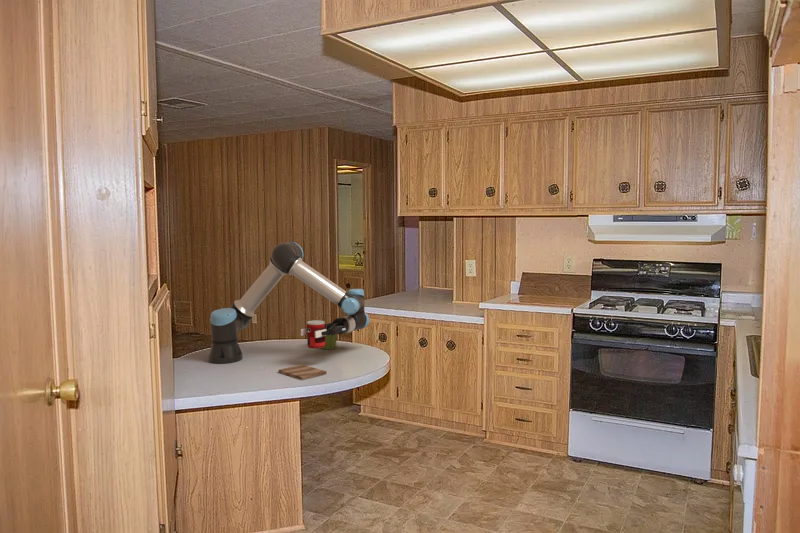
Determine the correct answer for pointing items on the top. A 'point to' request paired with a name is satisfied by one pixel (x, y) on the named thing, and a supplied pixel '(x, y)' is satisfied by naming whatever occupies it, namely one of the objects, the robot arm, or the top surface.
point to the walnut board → (302, 372)
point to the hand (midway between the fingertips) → (308, 333)
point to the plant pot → (330, 341)
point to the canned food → (311, 329)
